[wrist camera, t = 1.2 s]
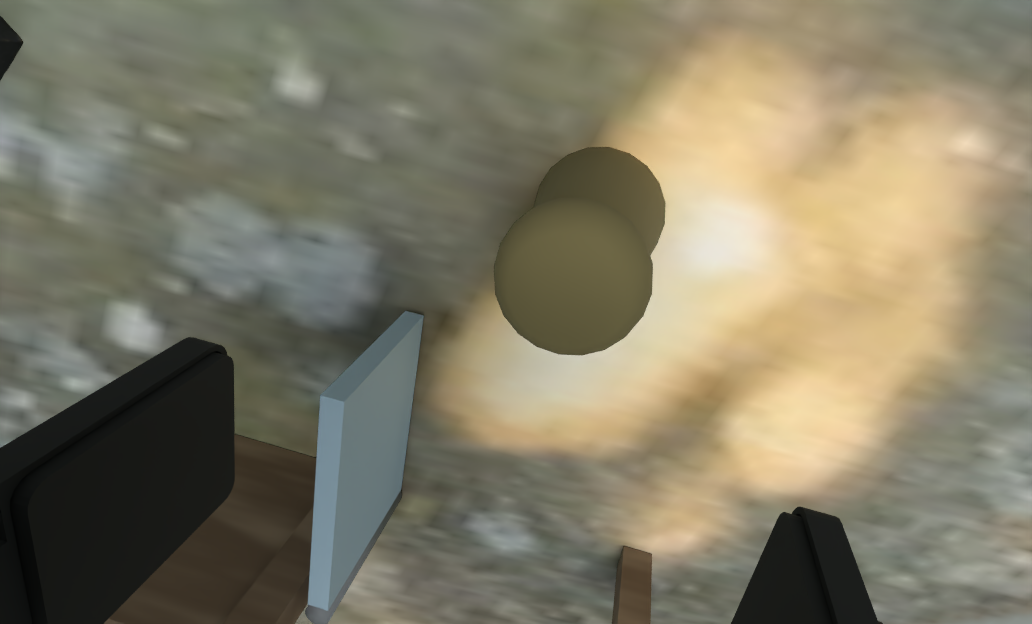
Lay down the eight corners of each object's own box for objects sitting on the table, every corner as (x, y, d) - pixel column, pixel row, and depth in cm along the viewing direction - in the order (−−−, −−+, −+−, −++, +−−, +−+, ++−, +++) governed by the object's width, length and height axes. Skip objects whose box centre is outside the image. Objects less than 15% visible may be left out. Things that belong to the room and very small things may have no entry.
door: (425, 316, 33) (346, 402, 25) (400, 504, 38) (328, 628, 30) (403, 310, 33) (318, 394, 25) (381, 498, 38) (304, 620, 30)
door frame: (643, 577, 36) (634, 827, 25) (212, 448, 40) (23, 613, 28) (652, 551, 36) (647, 796, 24) (211, 422, 39) (16, 580, 27)
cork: (513, 240, 31) (441, 329, 21) (568, 122, 28) (516, 159, 18) (626, 297, 30) (608, 414, 20) (691, 184, 28) (706, 255, 18)
